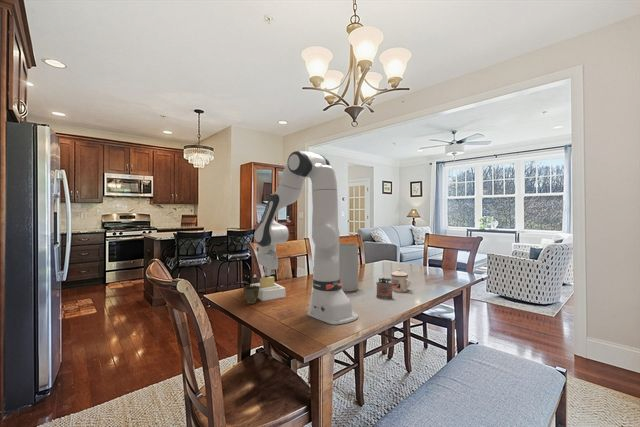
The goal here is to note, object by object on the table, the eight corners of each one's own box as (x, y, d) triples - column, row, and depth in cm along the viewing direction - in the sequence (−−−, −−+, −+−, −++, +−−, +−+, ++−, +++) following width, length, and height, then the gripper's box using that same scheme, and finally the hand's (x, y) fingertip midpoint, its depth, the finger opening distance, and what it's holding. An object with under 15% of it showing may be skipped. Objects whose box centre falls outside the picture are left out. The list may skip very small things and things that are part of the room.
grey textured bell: (255, 306, 133) (255, 289, 133) (240, 305, 134) (240, 288, 134) (261, 301, 140) (261, 285, 140) (247, 300, 142) (247, 284, 142)
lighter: (375, 297, 146) (375, 277, 146) (377, 295, 149) (377, 276, 149) (392, 299, 143) (391, 279, 143) (392, 297, 146) (392, 277, 146)
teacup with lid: (387, 289, 161) (387, 268, 161) (398, 287, 166) (398, 266, 166) (404, 294, 151) (404, 272, 151) (415, 292, 156) (415, 270, 156)
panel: (274, 292, 152) (274, 277, 152) (261, 294, 149) (261, 278, 149) (272, 291, 155) (272, 276, 154) (260, 293, 151) (260, 278, 151)
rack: (285, 297, 148) (285, 288, 147) (261, 301, 141) (261, 292, 141) (271, 289, 163) (271, 281, 162) (249, 292, 156) (249, 284, 156)
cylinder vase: (346, 285, 171) (346, 243, 171) (362, 289, 162) (362, 244, 162) (331, 288, 163) (331, 244, 163) (347, 293, 154) (347, 246, 153)
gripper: (281, 250, 144) (281, 278, 144) (265, 246, 162) (266, 271, 162) (269, 251, 141) (269, 280, 141) (255, 247, 158) (255, 272, 158)
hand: (267, 275), depth 152 cm, fingers closed
